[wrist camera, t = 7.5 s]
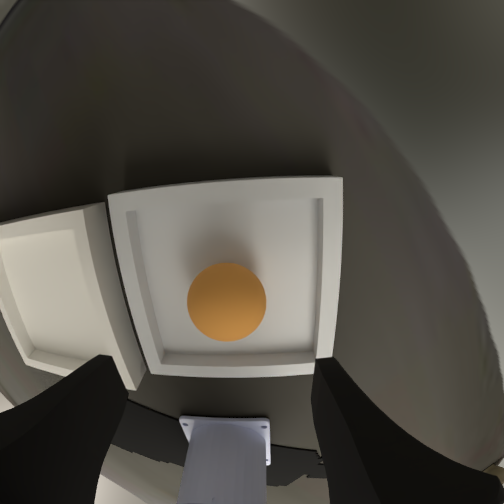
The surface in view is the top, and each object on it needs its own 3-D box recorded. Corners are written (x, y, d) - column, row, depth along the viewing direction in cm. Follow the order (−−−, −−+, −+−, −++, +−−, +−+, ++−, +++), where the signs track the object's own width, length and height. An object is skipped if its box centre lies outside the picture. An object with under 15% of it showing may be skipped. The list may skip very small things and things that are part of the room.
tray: (323, 353, 18) (329, 371, 16) (159, 356, 19) (151, 373, 17) (332, 175, 14) (342, 177, 12) (123, 190, 15) (107, 195, 13)
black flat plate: (98, 386, 20) (366, 454, 23) (100, 383, 21) (365, 451, 24) (99, 437, 24) (312, 490, 27) (100, 434, 24) (311, 488, 27)
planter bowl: (482, 475, 42) (490, 493, 32) (456, 490, 42) (464, 510, 31) (508, 451, 37) (518, 470, 26) (484, 467, 37) (494, 489, 26)
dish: (146, 369, 19) (136, 390, 17) (38, 350, 20) (25, 364, 17) (104, 201, 15) (82, 209, 13) (-3, 223, 16) (-22, 231, 13)
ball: (265, 314, 16) (269, 356, 12) (199, 316, 16) (187, 357, 12) (263, 250, 15) (267, 279, 11) (190, 254, 15) (171, 284, 11)
